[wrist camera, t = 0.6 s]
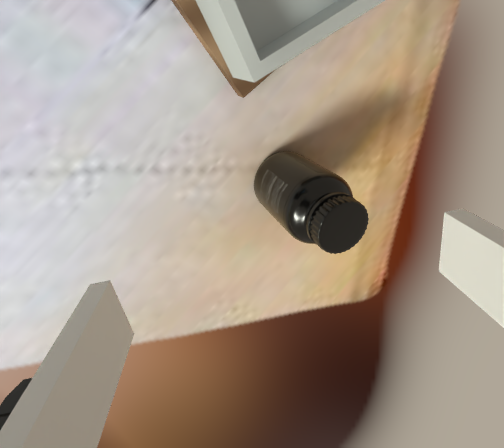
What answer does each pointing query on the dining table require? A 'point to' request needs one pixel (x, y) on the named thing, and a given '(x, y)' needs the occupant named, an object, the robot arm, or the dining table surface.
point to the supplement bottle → (310, 202)
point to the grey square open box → (274, 29)
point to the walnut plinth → (212, 44)
